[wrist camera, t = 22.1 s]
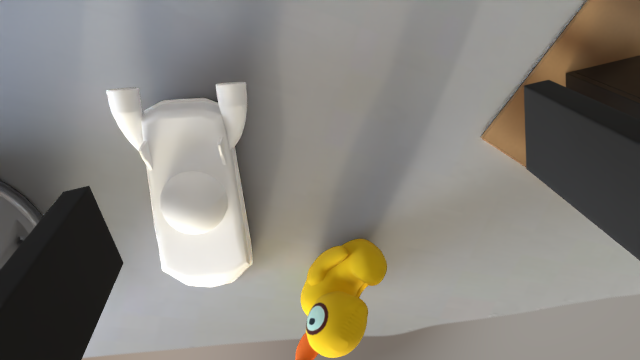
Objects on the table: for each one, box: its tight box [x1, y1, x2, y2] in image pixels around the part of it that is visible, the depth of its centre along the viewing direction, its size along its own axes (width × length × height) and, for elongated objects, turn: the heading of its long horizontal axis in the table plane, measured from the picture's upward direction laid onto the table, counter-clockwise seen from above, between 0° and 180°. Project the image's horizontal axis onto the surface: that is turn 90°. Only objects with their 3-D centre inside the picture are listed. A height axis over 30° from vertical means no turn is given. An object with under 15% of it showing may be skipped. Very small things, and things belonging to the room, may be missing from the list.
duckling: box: [295, 239, 387, 360], centre depth 45 cm, size 11×5×10 cm, turn 139°
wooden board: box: [481, 0, 640, 167], centre depth 44 cm, size 20×14×1 cm
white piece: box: [106, 82, 253, 287], centre depth 42 cm, size 10×20×6 cm, turn 2°
